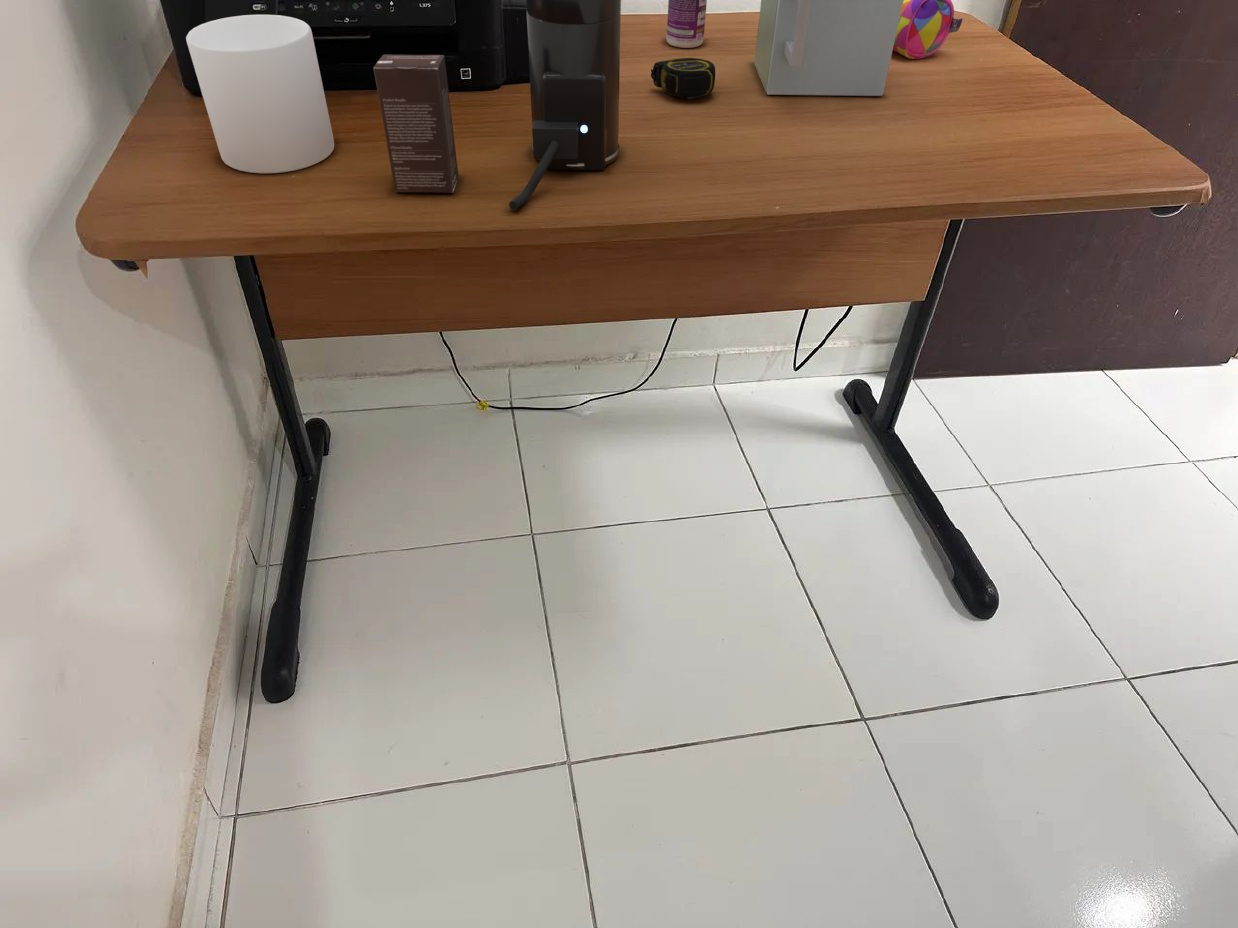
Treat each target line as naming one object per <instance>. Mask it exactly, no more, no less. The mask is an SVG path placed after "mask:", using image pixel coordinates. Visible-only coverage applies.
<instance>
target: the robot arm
mask: <svg viewBox="0 0 1238 928" xmlns="http://www.w3.org/2000/svg"><path fill="white" fill-rule="evenodd" d="M525 2H526V3H525V4H526V5H525V6H526V27H527V50H528V51H527V52H528V68H529V90H530V113H531V127H532V128H531V133H532V136H531V137H532V145H531V149H532V157H533V159H534V160H536V161H538V162H539V163H538V165H537V166H536V168H535V170H534V171H533V173H532V175H531V177H530V179H529V180H528V182H527V184H526V186H525V187H524V188H523V190H522V191H521V193H519V194H518V195H517V196H516V197H514V198H513V199H511V201H510V202H509V203H508V207H509V208H510V210H512V211H517V210H518V209H519V208H521V207H522V206H524V204H526V202H528V200H529V199H530V198H531V196H532V195H533V193H534V192H535V190H536V189H537V187H538V185H539V184H540V181H541V180H542V178H543V177H544V175H545V174H546V172H547V171H605V170H606V166H607V165H610V164H612V163H613V162H615V161H616V160H617V159H618V157H619V155H620V143H619V134H620V133H619V129H620V128H619V125H620V66H621V65H620V64H621V22H622V21H621V19H622V18H621V17H622V13H621V11H622V0H525Z"/></svg>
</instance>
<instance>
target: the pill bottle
mask: <svg viewBox="0 0 1238 928" xmlns="http://www.w3.org/2000/svg"><path fill="white" fill-rule="evenodd" d="M667 3H668V4H667V21H666V22H667V23H666V24H667V25H666V38H665V39H666V42H667V44H668V45H670V46H671V47H676V48H680V49H681V48H682V49H692V48H698V47H700V46H702V44H703V43H704V39H705V27H706V16H707V5H708V4H707V3H708V0H668V2H667Z"/></svg>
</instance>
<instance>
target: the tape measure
mask: <svg viewBox="0 0 1238 928" xmlns="http://www.w3.org/2000/svg"><path fill="white" fill-rule="evenodd" d="M650 78H651V79H652V81H653V84H654V85H653V86H655V87H656V88H659V89H660V88H661V89H662V90H663V91H664V93H666V94H667V95H670V96H673V97H677V98H687V99H688V100H691V99H697V98H701V97H703V96H707V95H709V94H711V93H712V92H713V90H714V89H715V84H716V66H715V64H714V63H713V62H711V61H710V60H707V59H703V58H696V57H681V58H673V59H668V60H661V61H660V60H659V61H657V62H655V63H654V64H653V67H652V68H650Z"/></svg>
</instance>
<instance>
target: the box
mask: <svg viewBox="0 0 1238 928" xmlns="http://www.w3.org/2000/svg"><path fill="white" fill-rule="evenodd" d="M373 74H374V78H375V85H376V89H377V90H376V91H377V96H378V101H379V107H380V113H381V118H382V125H383V129H384V135H385V142H386V147H387V152H388V159H389V164H390V170H391V177H392V183H393V189H394V191H395V193H445V194H453V193H454V192H455V189H456V186H457V183H458V180H459V177H460V176H459V175H460V174H459V168H458V160H457V150H456V144H455V143H456V142H455V135H454V123H453V116H452V115H453V114H452V107H451V100H450V92H449V82H448V75H447V65H446V58H445V55H444V54H383V55H381V57H380V58H379V59H378V61H377V62H376V64H375V65H374V66H373Z"/></svg>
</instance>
